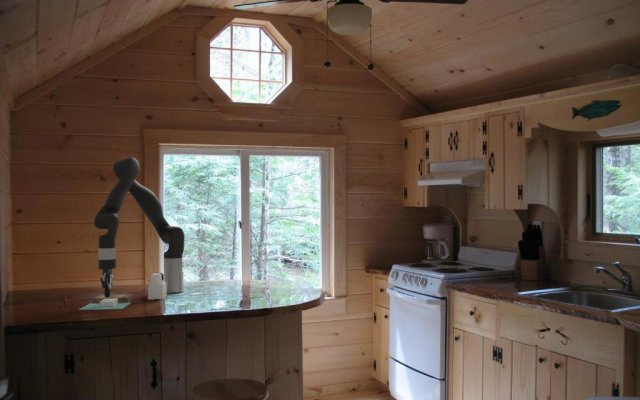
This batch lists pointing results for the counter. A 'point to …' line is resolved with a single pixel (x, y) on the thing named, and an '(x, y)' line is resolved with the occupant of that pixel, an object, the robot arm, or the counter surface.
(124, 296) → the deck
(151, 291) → the medicine bottle
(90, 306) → the mat
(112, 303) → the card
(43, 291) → the counter surface
